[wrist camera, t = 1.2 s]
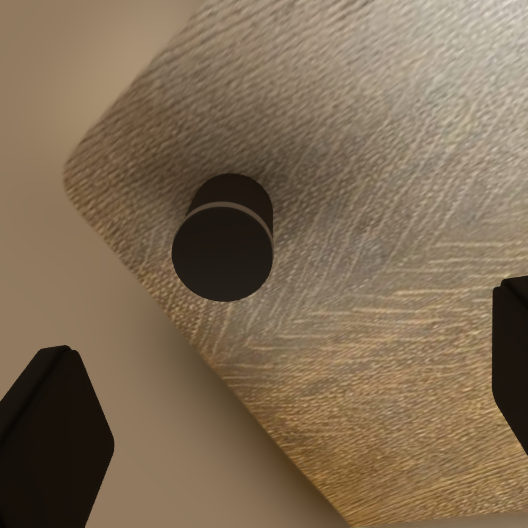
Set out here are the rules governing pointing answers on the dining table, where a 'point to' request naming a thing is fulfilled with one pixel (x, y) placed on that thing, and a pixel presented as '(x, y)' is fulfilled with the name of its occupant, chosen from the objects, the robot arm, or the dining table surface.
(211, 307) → the dining table surface
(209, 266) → the stopper
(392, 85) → the dining table surface
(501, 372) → the robot arm
